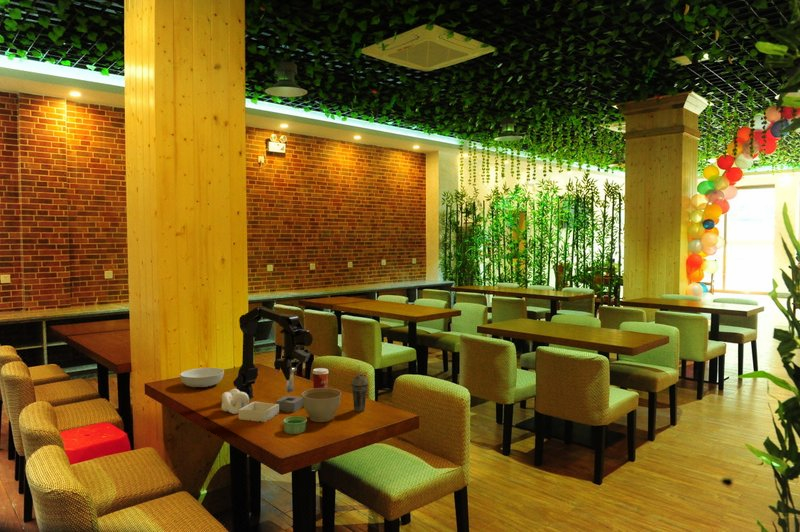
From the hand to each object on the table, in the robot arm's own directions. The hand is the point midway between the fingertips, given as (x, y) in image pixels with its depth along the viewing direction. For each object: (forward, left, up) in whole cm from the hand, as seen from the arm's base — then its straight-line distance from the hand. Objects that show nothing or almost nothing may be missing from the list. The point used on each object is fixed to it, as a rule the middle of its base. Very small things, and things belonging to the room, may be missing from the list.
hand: (290, 379), depth 238 cm
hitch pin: (0, 0, -6) cm, 6 cm away
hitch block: (0, 0, -13) cm, 13 cm away
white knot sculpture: (-21, -11, -13) cm, 28 cm away
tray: (-7, -14, -13) cm, 20 cm away
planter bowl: (+19, -9, -13) cm, 25 cm away
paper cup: (+7, +17, -13) cm, 23 cm away
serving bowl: (-59, +20, -13) cm, 64 cm away
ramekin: (+15, -25, -13) cm, 32 cm away
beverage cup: (+30, +7, -13) cm, 34 cm away
